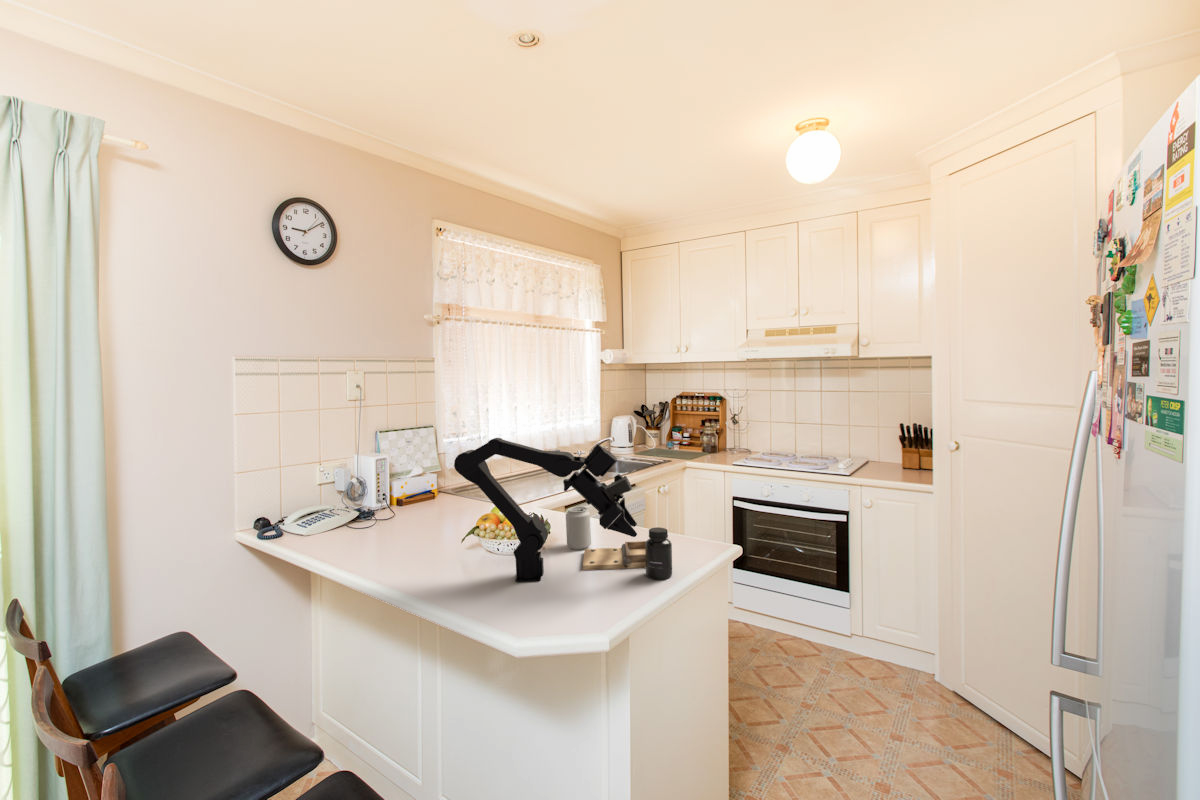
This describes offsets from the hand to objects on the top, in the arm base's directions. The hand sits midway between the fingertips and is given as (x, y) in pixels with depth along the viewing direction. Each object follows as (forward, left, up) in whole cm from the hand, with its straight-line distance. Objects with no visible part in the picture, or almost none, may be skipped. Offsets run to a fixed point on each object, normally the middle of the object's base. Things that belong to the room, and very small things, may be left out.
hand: (635, 530), depth 137 cm
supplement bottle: (+6, 0, -12) cm, 13 cm away
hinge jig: (-2, +13, -12) cm, 18 cm away
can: (-16, +26, -12) cm, 33 cm away
